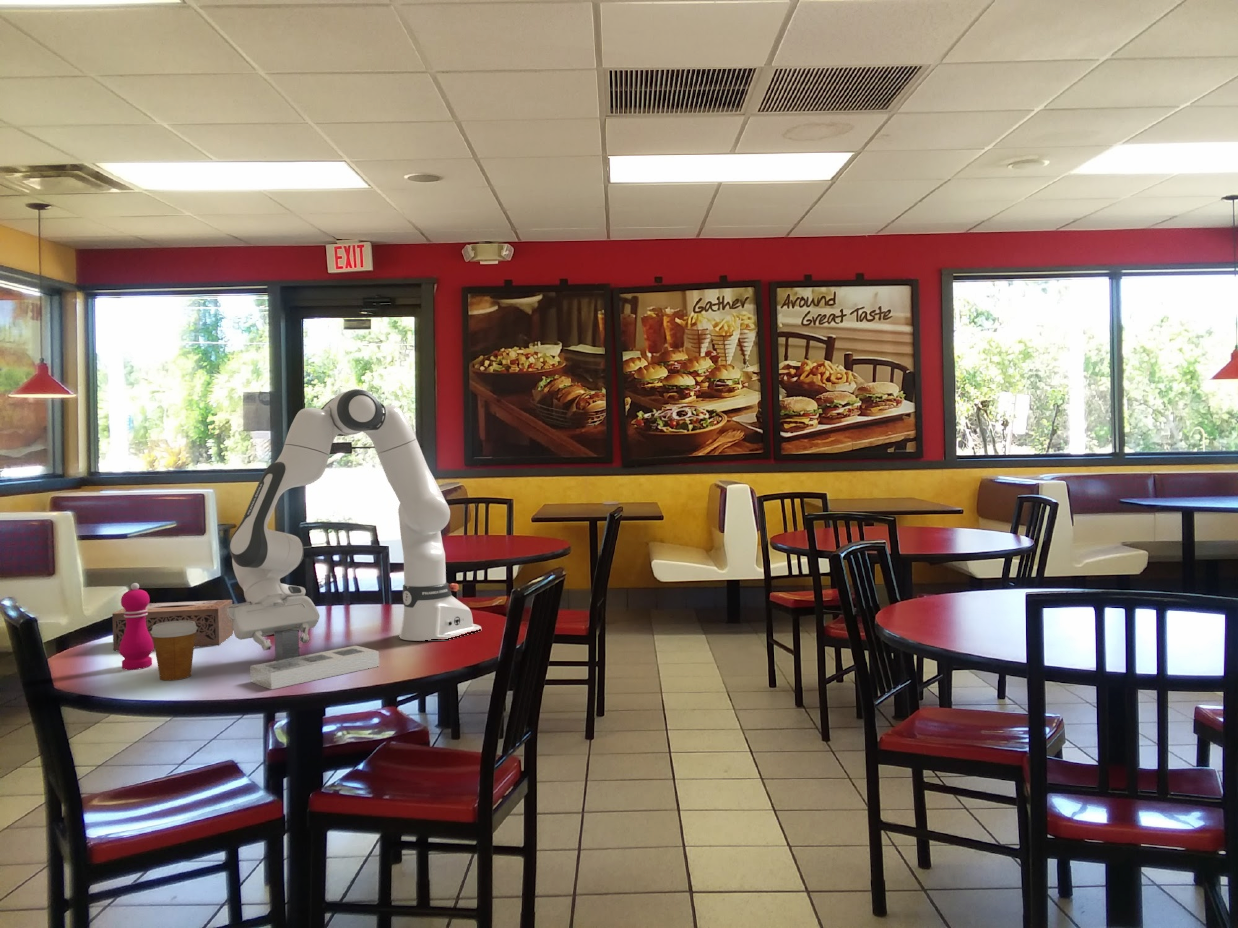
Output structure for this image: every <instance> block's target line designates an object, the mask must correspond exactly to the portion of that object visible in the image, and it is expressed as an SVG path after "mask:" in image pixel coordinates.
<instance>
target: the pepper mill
mask: <svg viewBox="0 0 1238 928" xmlns="http://www.w3.org/2000/svg"><path fill="white" fill-rule="evenodd" d="M130 588H131V589H130V590H127V591H126V592H125V593H123V594H122V596H121V599H120V604H121V607H122V609H123V608H124V609H125V610H126V611H124V617H126V629H125V633H124V636H123V638H122V640H121V643H120V648H119V651H118V653H119V654H120V656H122V657H123V659H122V660H121V667H122V669H123V670H126V669H127V670H133V669H134V670H140V669H139V668H142V669H145V668H146V669H147V668H148V667H152V665H153V658H152V656H150V655H151V654H152V653H153V651H154V650H155V649H154V645H153V641H152V638H151V636H150V634H149V632H148V630H147V627H146V615H147V614H148V613H147V609H146V607H147V605H148V604H150V603H151V602H150V595H149V594H148V592H147V590H146V591H145V590H143V589H139V588H140V585H139V583H137V582H134V583H131V585H130Z"/></svg>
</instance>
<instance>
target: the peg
mask: <svg viewBox="0 0 1238 928" xmlns="http://www.w3.org/2000/svg"><path fill="white" fill-rule="evenodd" d="M299 633H300V630H293V629H286V630H280V631H274V634H273V635H274V661H279V660H284V659H289V658H294V657H299V656H300V639H299V638H300V637H299V636H300V635H299Z"/></svg>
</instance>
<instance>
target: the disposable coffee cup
mask: <svg viewBox="0 0 1238 928" xmlns="http://www.w3.org/2000/svg"><path fill="white" fill-rule="evenodd" d="M197 628H198V627H196V624H195V622H194V621H171V622H164V623H159V624H156V625H153V628H152V631H151V634H152V636H153V639H154V646H155V649H154V651H155V657H156V663H157V668H158V674H159V679H160V680H162V681H178V680H183V679H187V678H189V677H191V676H192V670H193V669H192V666H193V658H194V657H193V656H194V650H195V649H194V648H195V647H194V641H195V632H196V630H197Z"/></svg>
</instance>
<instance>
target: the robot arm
mask: <svg viewBox="0 0 1238 928" xmlns="http://www.w3.org/2000/svg"><path fill="white" fill-rule="evenodd" d="M360 433H364V434H365V435H366V436H368V437H369V439H370V441H371V442H372V443H373V444H372V445H373V446H374V449H375V452H376V454H377V457H378V459H379V463H380V464H381V467H382V469H383V472H384V474H385V477H386V480H387V482H388V483H389V484H390V486H391V489H392V490H393V492H394V494H395V495H396V497H397V499H398V502H399V505H398V510H397V511H398V512H397V513H398V520H399V530H400V540H401V546H402V554H403V580H404V581H403V582H404V583H403V585H402V601H403V615H402V623H401V629H400V633H399V636H398V638H399V637H400V638H399V639H401V640H404V641H414V642H415V641H416V642H417V641H419V642H421V641H422V642H426V641H425V640H428V641H432V640H431V639H448V638H451V637H455V636H459V635H461V634H465V633H467V632H471V631H476V630H479V629H481V630H482V626H481V625H479V624H475V623H474V621H473V614H472V611H471V609H470V607H468V606H467V605H466V604H464V603H463V602H461V601H460V600H459V599H457V598H456V597H454V596H453V595H452V594H453V592H457V591H458V590H459V589H460V587H459V584H458V583H448V582H447V574H446V573H447V571H446V569H447V568H446V552H445V548H444V544H443V539H442V533H441V532H442V530H444V528H446V527H447V525H448V524H449V522H450V520H451V518H450V517H451V510H450V507H449V504H448V503H447V501H446V499H445V497H444V495H443V492H442V491H441V489H440V486H439V484H438V483H437V481H436V479H435V477H434V476H433V475H434V474H432V472H431V470H430V468H429V466H428V463H427V461H426V458H425V456H424V454H423V451H422V448H421V447H420V443H419V442H418V439H417V435H416V434H415V431H414V430H413V428H412V426H411V424H410V422H409V420H408V418H407V417H406V415H405V413H404V412H403V411H402V410H401V408H399V406H396V405H391V404H388V405H387V404H386V405H384V404H383V403H382V402H380V400H379V399H377V398H376V397H375V395H373V394H372V393H370V392H369V391H367V390H363V389H361V388H360V389H357V388H355V389H350V390H346V391H343V392H340V393H339V394H337V395H336V396H334V397H333V398H331V399H330V400H328V401H327V402H326V403H325V404H324V405H323V406H322V407H321V408H317V407H305V408H302V409H300V410H299V411H298V412H297V414H296V415H295V417H294V419H293V421H292V423H291V425H290V427H289V430H288V432H287V436H286V438H285V440H284V441H285V442H284V443H283V444H284V445H283V448H282V451H281V453H280V454H279V456H278V458H277V460H275V462H273V463H271V464H270V465H268V466H267V467H266V469H265V470H264V472H263V473H262V475H261V478H260V479H259V481H258V483H257V486H256V488H255V490H254V493H253V495H252V496H251V499H250V501H249V504H248V506H247V508H246V511H245V513H244V515H243V517H242V520H241V522H240V523H239V524H238V527H237V528H236V529H235V531H234V532H233V534H232V536H231V539H230V541H229V546H228V547H229V552H230V555H231V558H232V559H231V560H232V568H233V572H234V575H235V578H236V579H237V583H238V585H239V587H241V589H242V590H243V595H244V598H245V599H244V600H245V602H240V603H232V605H231V606H230V607H229V608H228V609H227V614H228V616H229V618H230V619H231V621H232V627H233V635H234V636H235V637H236V638H237V639H238V640H247V639H252V640H253V641H254V642H255V643H257V644H258V645H260V646H261V648H262V650H263V651H269V650H271V648H272V643H271V640H270V639H265V636H271V635H275V634H274V631H280V630H286V629H293V630H297V631H299V633H302V634H301V635H300V637H299V642H300V643H301V644H308V643H309V642H310V636H309V635H308V633H309V629H314V628H315V627H316V626H317V624H318V623H319V620H320V616H321V615H320V613H319V610H318V609H317V607H316V605H315V604H314V602H313V600H312V599H311V598H310V597H308V596H307V595H306V593H307V592H306V588H305V587H303V586H297V585H289V584H286V583H281V579H282V578H285V577H286V576H288V575H289V574H291V573H292V572H293V571H294V570H296V569H297V568H298V567H299V566H300V564H301V563H302V562H303V559H304V555H305V554H304V552H305V550H304V549H305V548H304V544H303V541H302V540H301V539H300V537H298V536H297V535H294V534H291V533H287V532H284V531H283V532H282V531H277V530H274V529H269V528H268V525H269V522H270V520H271V518H272V515H273V513H274V511H275V508H276V505H277V503H278V501H279V499H280V497H281V496H282V494H283V493H285V492H286V491H288V490H289V489H292V488H297V487H298V488H299V487H305V486H308V485H311V484H313V483H315V482H316V481H318V480H319V479H320V478H321V477H322V476H323V475H324V472H325V471H326V468H327V464H328V461H329V458H330V453H331V449H332V444H333V443H334V440H335V439H336V437H347V436H354V435H357V434H360ZM452 591H453V592H452Z"/></svg>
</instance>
